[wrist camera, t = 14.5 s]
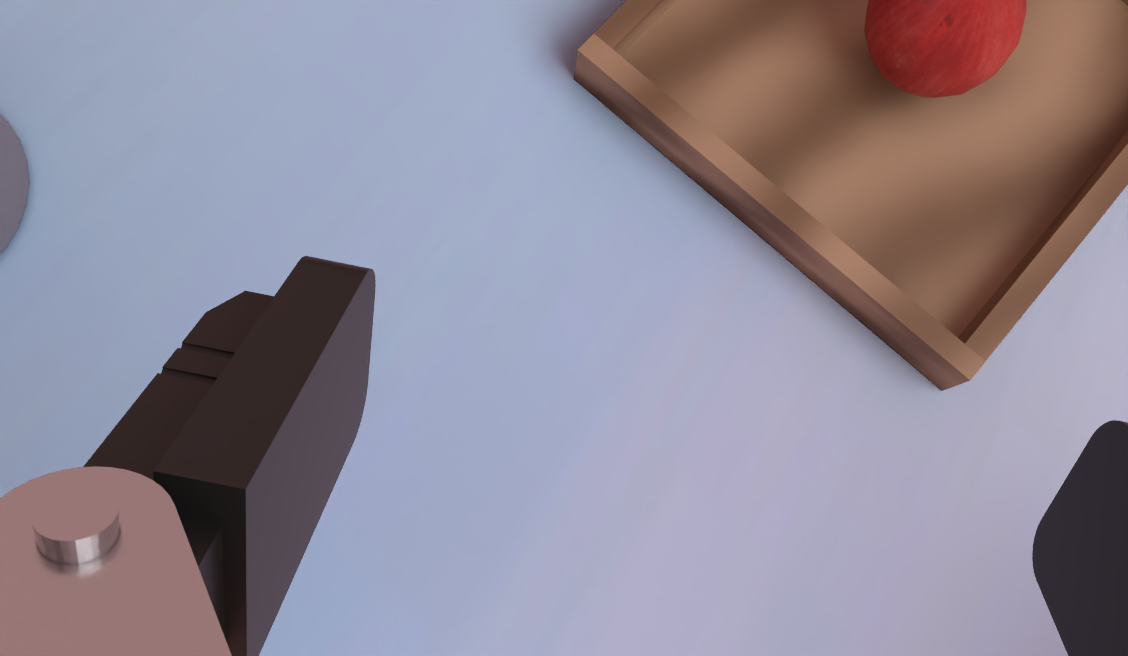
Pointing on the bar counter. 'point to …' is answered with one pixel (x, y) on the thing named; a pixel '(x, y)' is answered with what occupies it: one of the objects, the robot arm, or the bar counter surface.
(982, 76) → the onion
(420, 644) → the bar counter surface
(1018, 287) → the walnut tray
